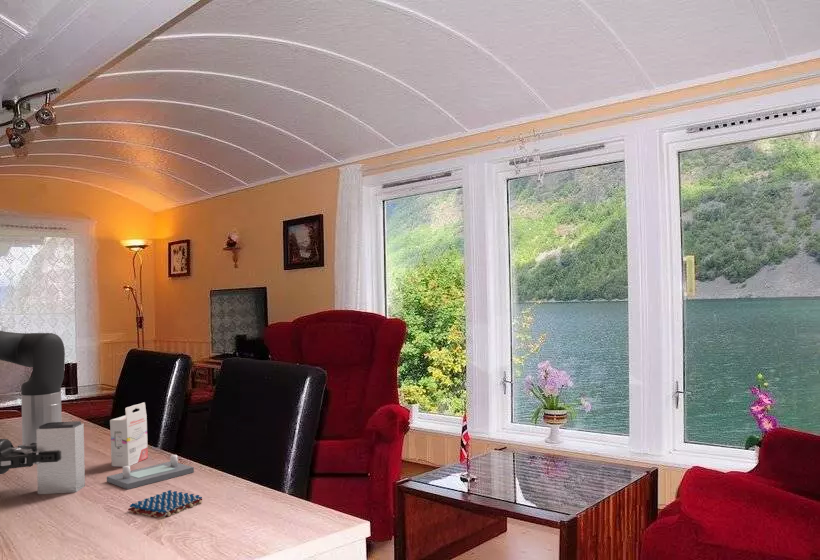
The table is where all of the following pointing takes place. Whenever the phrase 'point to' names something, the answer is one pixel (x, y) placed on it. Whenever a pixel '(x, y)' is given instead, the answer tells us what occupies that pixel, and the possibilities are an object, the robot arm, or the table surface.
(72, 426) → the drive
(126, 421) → the ink cartridge box
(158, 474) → the pin tray
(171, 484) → the table surface
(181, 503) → the woven mat
